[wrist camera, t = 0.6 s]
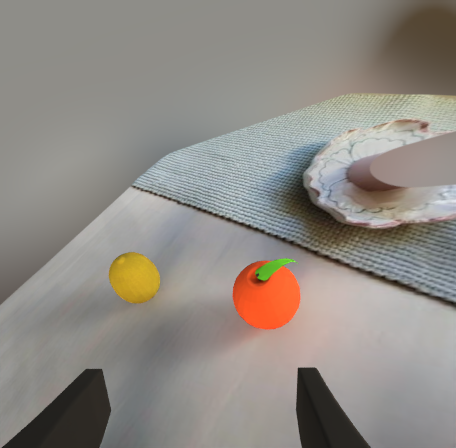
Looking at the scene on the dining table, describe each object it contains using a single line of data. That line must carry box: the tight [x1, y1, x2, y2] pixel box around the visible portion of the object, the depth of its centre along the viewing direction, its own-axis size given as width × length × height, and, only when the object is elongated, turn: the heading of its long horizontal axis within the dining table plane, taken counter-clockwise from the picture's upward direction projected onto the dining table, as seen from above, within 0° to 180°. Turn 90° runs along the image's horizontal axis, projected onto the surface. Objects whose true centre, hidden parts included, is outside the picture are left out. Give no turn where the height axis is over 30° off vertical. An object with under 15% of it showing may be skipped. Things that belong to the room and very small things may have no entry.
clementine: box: [233, 258, 300, 329], centre depth 33 cm, size 8×7×7 cm
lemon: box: [109, 252, 160, 303], centre depth 40 cm, size 6×6×8 cm
